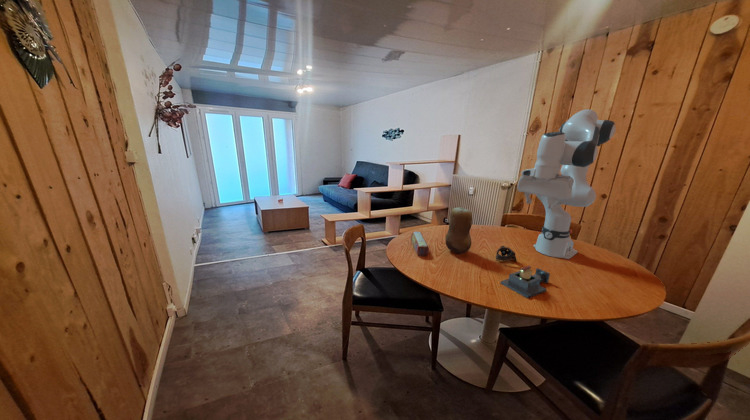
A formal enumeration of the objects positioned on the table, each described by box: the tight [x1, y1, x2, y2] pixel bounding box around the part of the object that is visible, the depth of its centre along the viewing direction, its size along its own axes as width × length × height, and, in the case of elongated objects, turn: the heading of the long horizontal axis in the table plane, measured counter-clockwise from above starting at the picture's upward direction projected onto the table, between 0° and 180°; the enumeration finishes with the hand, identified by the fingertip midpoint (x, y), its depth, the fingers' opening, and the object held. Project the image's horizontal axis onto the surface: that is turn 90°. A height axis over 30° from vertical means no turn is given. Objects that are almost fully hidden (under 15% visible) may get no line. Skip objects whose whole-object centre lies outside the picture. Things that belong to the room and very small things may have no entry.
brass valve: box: [519, 265, 533, 281], centre depth 101 cm, size 5×4×8 cm
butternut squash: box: [445, 207, 473, 255], centre depth 133 cm, size 14×13×25 cm
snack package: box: [410, 231, 430, 257], centre depth 139 cm, size 21×7×7 cm, turn 0°
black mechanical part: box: [495, 245, 518, 263], centre depth 127 cm, size 12×10×8 cm
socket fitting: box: [500, 268, 551, 299], centre depth 104 cm, size 19×12×5 cm, turn 116°
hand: (539, 205), depth 104 cm, fingers open, 8 cm apart
